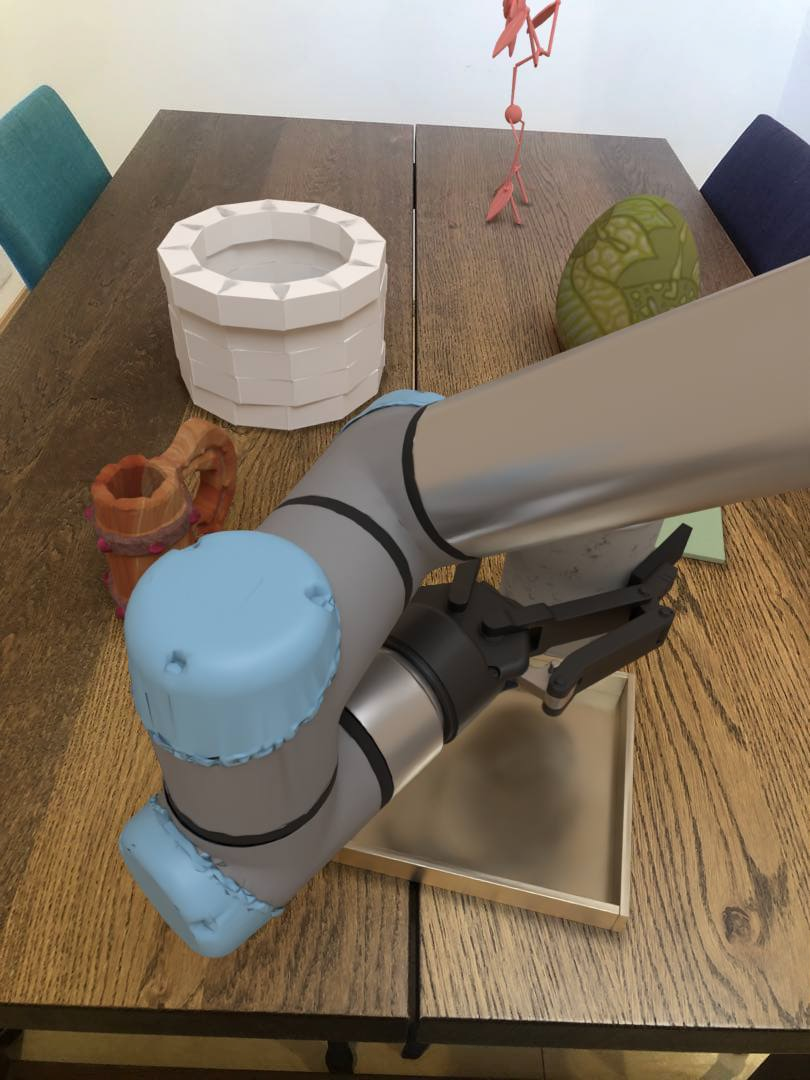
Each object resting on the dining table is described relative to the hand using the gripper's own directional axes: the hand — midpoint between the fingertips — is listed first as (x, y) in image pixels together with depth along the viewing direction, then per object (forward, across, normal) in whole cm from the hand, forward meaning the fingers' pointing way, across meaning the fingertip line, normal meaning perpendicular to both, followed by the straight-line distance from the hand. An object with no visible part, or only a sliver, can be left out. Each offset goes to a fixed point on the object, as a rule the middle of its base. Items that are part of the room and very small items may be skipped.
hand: (616, 503), depth 57 cm
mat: (+22, -5, -17) cm, 28 cm away
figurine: (+69, -64, -17) cm, 96 cm away
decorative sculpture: (+44, -23, -17) cm, 53 cm away
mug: (-18, -29, -17) cm, 38 cm away
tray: (-15, -2, -17) cm, 23 cm away
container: (+11, -49, -17) cm, 53 cm away
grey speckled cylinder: (-4, 0, -8) cm, 9 cm away
